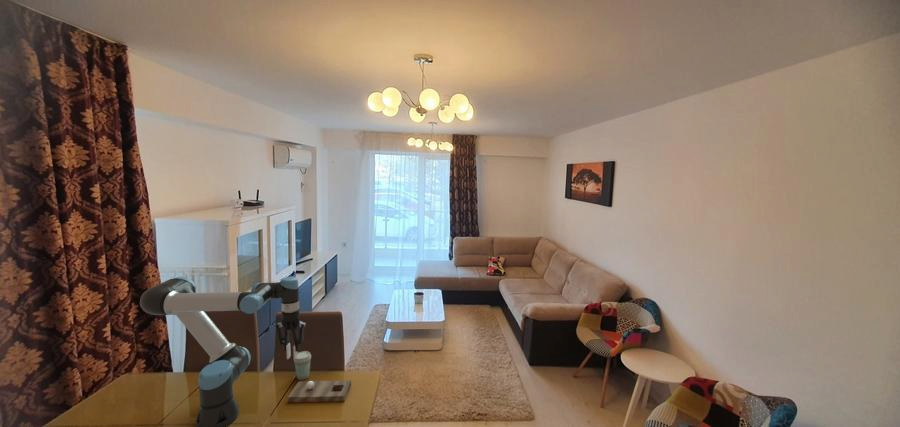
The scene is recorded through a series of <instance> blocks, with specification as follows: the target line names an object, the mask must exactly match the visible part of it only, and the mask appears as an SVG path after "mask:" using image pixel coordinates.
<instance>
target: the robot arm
mask: <svg viewBox="0 0 900 427" xmlns="http://www.w3.org/2000/svg"><path fill="white" fill-rule="evenodd" d="M299 288H300V285H299V279H298V278H297V277H296V276H285V277H283V278H281V279H280V282H279V281H278V282H258V283H257V282H256V283H254V284H253V285H252V287H251V289H250V291H231V292H230V291H229V292H228V291H227V292H225V291H224V292H197V285H196V284H195V282H194V281H193V280H191V279H190V278H187V277H182V276H178V277H173V278H169V279H167V280H165V281H163V282H161V283H159V284H157V285H154V286H152V287H149V288H147V290H145V291H144V292H142V294H141V295H140V300H139V306H140V308H141V309H142V311H143V312H145V313H147V314H148V315H149V314H150V315H154V316H176V317H177V318H178V320H179V321H180V322H181V323H182V324H183V326H184V327H185V328H186V330H188V331H189V333H190V334H191V336H192V337H193V338H194V339H195V340H196V341H197V343H198V344H199V345H200V346H201V347H202V348H203V351H205V352H206V353H207V354H208V356H209V364H206V365H205V366H204V367H203V368H202V369H201V371H200V372H199V374H198V382H197V385H198V392H199V393H198V394H199V404H200V405H199V406H200V408H199V411H198V414H197V417H196V419H195V425H196V426H195V427H227V426H228V425H230V424H232V423H233V422H234V421H235V420H236V419H237V418H238V417H239V415H240V407H239V406H240V405H239V404H238V403H237V401H236V399H235V395H234V384H235V383H236V381H237V380H238V379H239V378H240V377H241V375H242V374H243V373H245V371H246V370H247V369H248V367H249V365H250V362H251V358H252V356H251V353H250V351H249V350H248V349H247V348H246V347H245V346H240V345H239V346H238V345H237V343H235V342H230V341H229V340H228V338H227V337H226V336H225V335H224V334H223V333H222V331H221V330H220V329H219V328H218V327H217V325H216V324H215V323H214V321H213V320H212V318H210V316H208V314H207V313H206V312H225V311H228V312H229V311H230V312H231V311H232V312H233V311H242V313H244V314H248V315H249V314H250V315H251V314H254V313H256V312H257V311H259V310H260V309H262V307H263V306H265V304H266V303H268V301H270V300H279V299H280V303H281V305H280V306H281V308H280V309H281V322H277V323H276V324H275V327H276V329H277V333H278V334H277V335H278V341H279V344H280V345H282V346H284V352H286V360H289V359H290V358H291V356H292V355H291V354H292V351H291V350H292V349H291V342H290V333H291V332H292V336H293V342H294V345H293V346H292V348H293V360H294V359H296V358H297V356H298V353H299V351H300V345H301V344H302V343H304V338H305V327H306V325H307V323H306V322H305V321H301V319H300V296H299V295H300V294H299V293H300V290H299ZM298 327H299V330H298ZM298 331H299V332H298Z"/></svg>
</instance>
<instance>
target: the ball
mask: <svg viewBox="0 0 900 427" xmlns="http://www.w3.org/2000/svg"><path fill="white" fill-rule="evenodd" d="M308 381H309V382H308V383H307V384H306V388H307V389H312V388H313V387H314V382H313V381H314V380H308Z"/></svg>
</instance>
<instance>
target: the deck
mask: <svg viewBox="0 0 900 427" xmlns="http://www.w3.org/2000/svg"><path fill="white" fill-rule="evenodd" d="M309 381H310V380H308V381H306V380H299V381H297V383H296V385H295V386H294V388H293V389H292V390H291V392H290V393H289V394H288V396H287V402H288V403H307V402H308V403H309V402H311V403H315V402H316V403H317V402H319V403H320V402H321V403H323V402H345V401H346V398H347V397H348V394H349V392H348V391H350V389H351V387H352V380H312V381H313V382H314V387H313V388H312V389H307V388H306V384H307V383H308V382H309ZM350 386H351V387H350ZM339 389H340V390H339ZM346 396H347V397H346Z"/></svg>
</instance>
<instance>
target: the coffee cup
mask: <svg viewBox="0 0 900 427" xmlns="http://www.w3.org/2000/svg"><path fill="white" fill-rule="evenodd" d="M311 359H312V354H311V352H309V351H308V350H304V351H300V352H299V351H298V356H297V358H296V359H294V358H293V362H294V368H295V374H296V378H297V380H299V381H304V380H306V379H307V378H309V377H310V372H311V371H310V370H311V361H312V360H311Z"/></svg>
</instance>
